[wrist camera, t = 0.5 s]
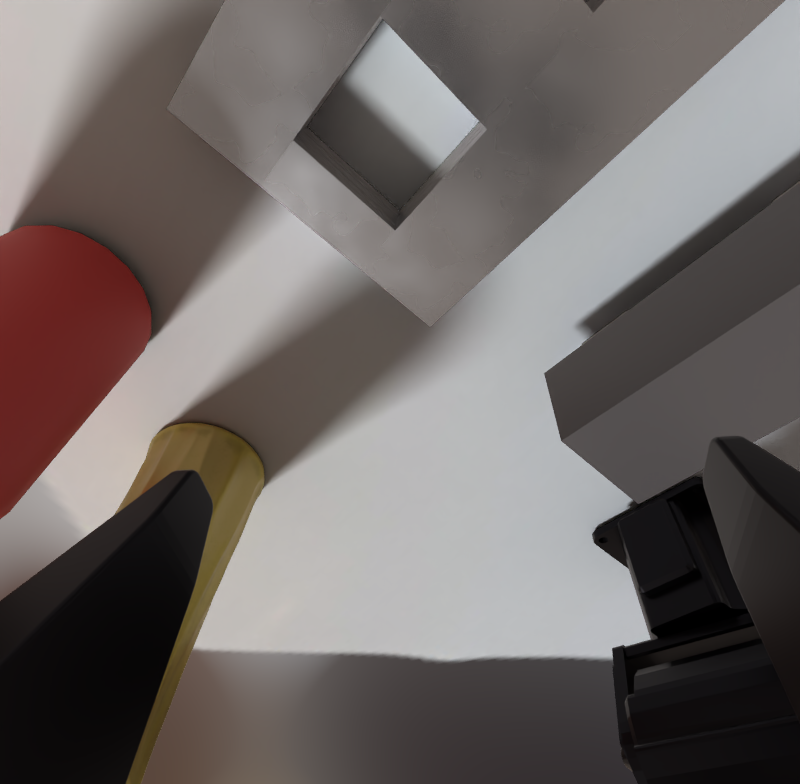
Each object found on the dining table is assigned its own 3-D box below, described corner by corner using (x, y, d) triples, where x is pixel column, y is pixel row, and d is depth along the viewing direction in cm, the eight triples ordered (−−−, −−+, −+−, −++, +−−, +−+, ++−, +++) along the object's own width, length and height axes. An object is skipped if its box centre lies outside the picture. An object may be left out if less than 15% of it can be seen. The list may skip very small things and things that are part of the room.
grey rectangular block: (870, 89, 17) (1035, 129, 12) (928, 189, 18) (1093, 258, 13) (538, 349, 23) (561, 440, 18) (602, 406, 24) (638, 503, 20)
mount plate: (852, -99, 14) (904, -110, 12) (431, 302, 22) (430, 327, 20) (589, -612, 10) (615, -724, 9) (190, 98, 18) (166, 108, 16)
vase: (185, 509, 31) (32, 814, 20) (127, 429, 27) (-100, 744, 16) (283, 496, 30) (181, 814, 18) (235, 410, 26) (72, 737, 15)
